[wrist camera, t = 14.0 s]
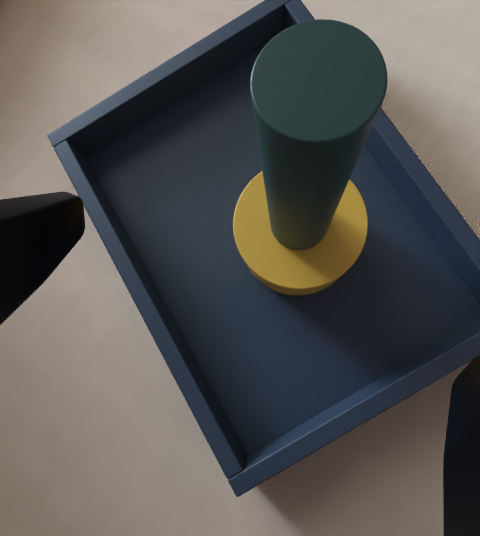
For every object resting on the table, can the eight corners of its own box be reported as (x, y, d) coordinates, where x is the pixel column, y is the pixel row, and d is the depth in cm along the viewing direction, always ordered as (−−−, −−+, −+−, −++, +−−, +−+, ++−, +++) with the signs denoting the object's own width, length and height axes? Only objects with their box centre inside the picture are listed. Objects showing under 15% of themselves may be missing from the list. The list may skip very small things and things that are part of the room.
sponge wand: (374, 264, 19) (557, 136, 6) (271, 314, 19) (243, 290, 6) (320, 169, 20) (382, -109, 7) (224, 218, 20) (118, 30, 7)
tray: (502, 321, 19) (540, 320, 16) (243, 473, 19) (236, 498, 16) (289, 26, 22) (289, -16, 20) (75, 158, 23) (46, 135, 20)
